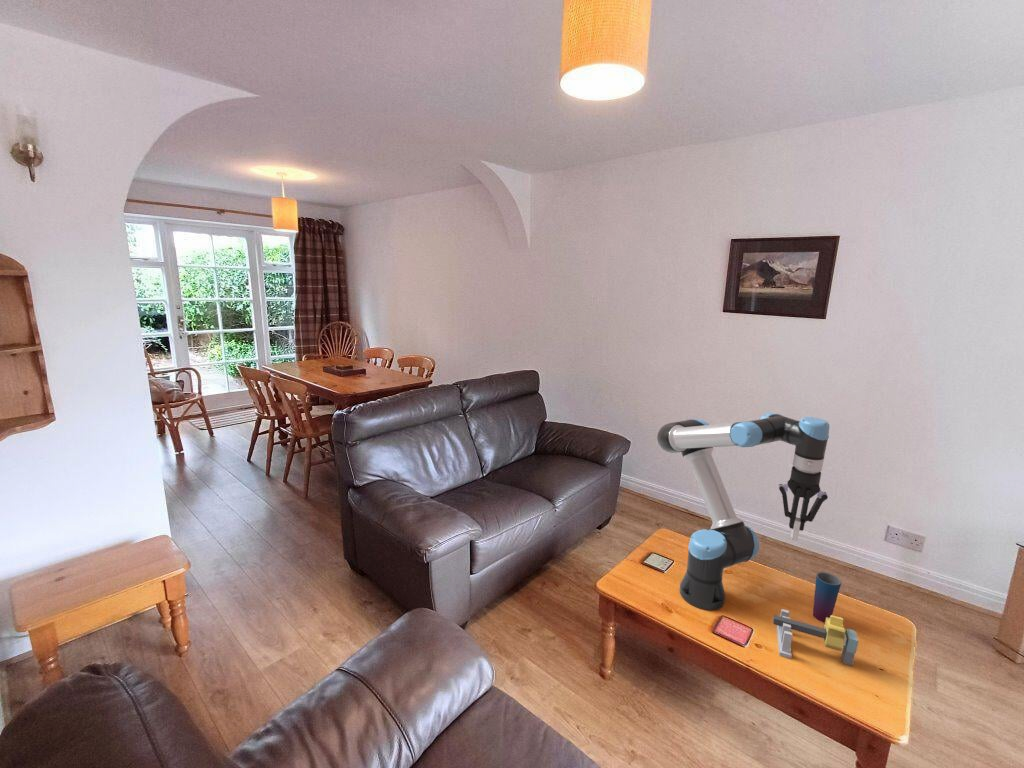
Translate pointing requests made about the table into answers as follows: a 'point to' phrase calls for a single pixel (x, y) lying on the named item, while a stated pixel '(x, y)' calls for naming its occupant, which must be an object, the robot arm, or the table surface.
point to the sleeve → (834, 632)
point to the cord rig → (785, 634)
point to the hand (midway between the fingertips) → (794, 537)
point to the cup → (825, 595)
